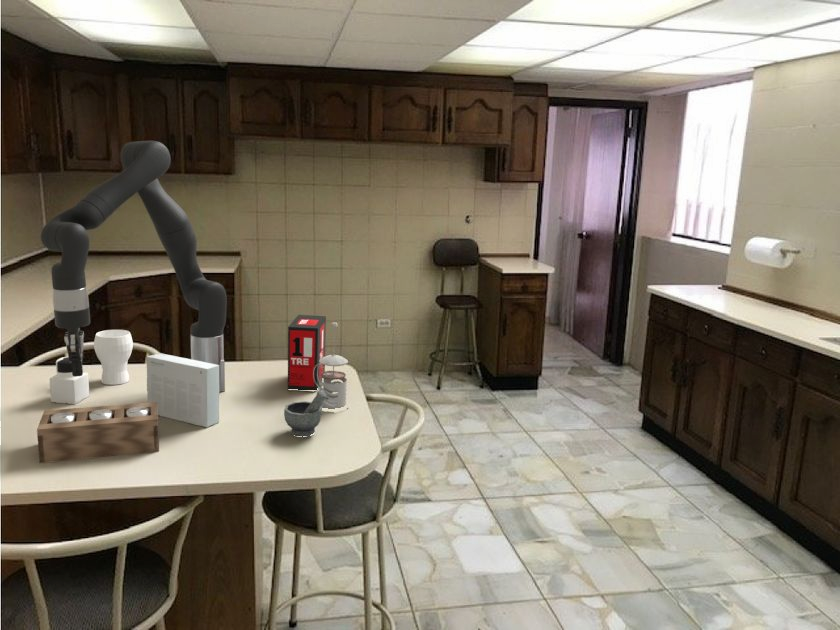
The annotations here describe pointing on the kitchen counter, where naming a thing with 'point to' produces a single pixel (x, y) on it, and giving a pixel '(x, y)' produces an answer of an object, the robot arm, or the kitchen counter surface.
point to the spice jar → (100, 414)
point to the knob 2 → (137, 411)
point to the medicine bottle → (68, 384)
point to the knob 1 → (62, 417)
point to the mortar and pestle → (304, 415)
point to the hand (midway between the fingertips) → (77, 375)
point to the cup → (113, 355)
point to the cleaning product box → (305, 351)
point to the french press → (328, 387)
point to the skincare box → (184, 389)
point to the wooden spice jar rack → (97, 433)
